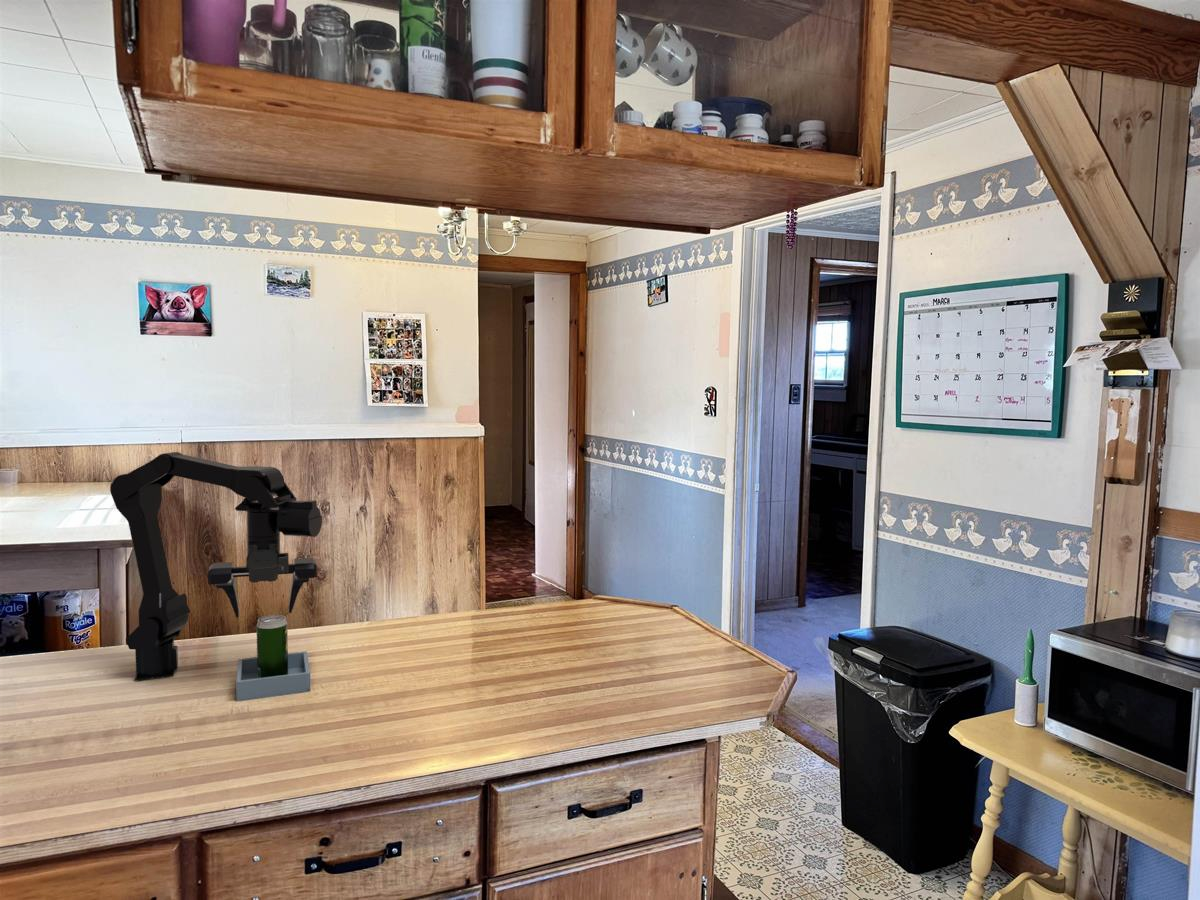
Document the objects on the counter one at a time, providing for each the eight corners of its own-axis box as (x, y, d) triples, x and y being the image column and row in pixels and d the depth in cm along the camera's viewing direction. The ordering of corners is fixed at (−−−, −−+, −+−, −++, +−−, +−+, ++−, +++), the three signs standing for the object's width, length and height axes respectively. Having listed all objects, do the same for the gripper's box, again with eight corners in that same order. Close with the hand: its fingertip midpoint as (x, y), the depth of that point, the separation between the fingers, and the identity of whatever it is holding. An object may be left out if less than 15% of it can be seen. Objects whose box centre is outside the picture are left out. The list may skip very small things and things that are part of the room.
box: (236, 701, 138) (236, 682, 138) (238, 676, 150) (238, 659, 149) (310, 691, 143) (310, 673, 143) (307, 668, 155) (306, 651, 154)
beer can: (264, 688, 143) (263, 625, 142) (253, 680, 146) (251, 618, 145) (293, 681, 146) (292, 619, 145) (281, 673, 150) (280, 612, 149)
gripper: (204, 545, 135) (205, 632, 137) (318, 540, 142) (318, 623, 144) (209, 533, 145) (210, 614, 147) (315, 529, 153) (315, 606, 154)
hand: (264, 614), depth 148 cm, fingers open, 9 cm apart
